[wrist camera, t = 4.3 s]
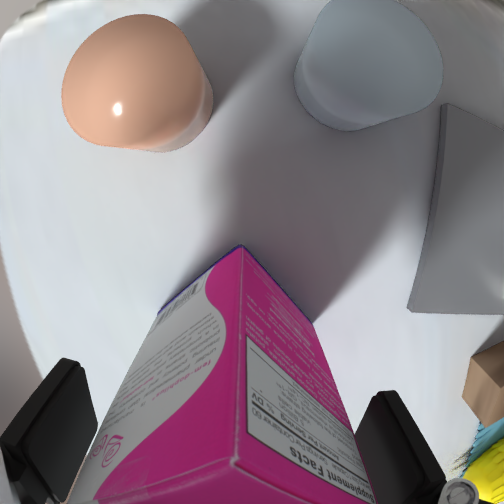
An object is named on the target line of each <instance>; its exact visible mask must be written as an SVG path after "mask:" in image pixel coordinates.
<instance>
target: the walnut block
mask: <svg viewBox="0 0 504 504" xmlns="http://www.w3.org/2000/svg"><path fill="white" fill-rule="evenodd" d="M462 398H463V399H464V400H465V402H466V403H467V404H468V406H469V407H470V408H471V410H472V411H473V412H474V414H475V415H476V416H477V418H478V419H479V420H480V422H481V423H482V424H483V426H484V427H485V428H487V427H488V426H490V425H492V424H493V423H495V422H497V421H498V420H500V419H502V418H503V417H504V341H502V342H500V343H498V344H496V345H494V346H493V347H491V348H489V349H487V350H485V351H482V352H480V353H478V354H476V355H474V356H472V357H471V359H470V364H469V368H468V373H467V378H466V382H465V386H464V390H463V394H462Z"/></svg>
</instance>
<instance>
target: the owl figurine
mask: <svg viewBox="0 0 504 504" xmlns="http://www.w3.org/2000/svg"><path fill="white" fill-rule="evenodd" d="M481 429H482V430H481ZM478 430H480V431H479V432H478V434H477V435H476V439H477V438H478V439H477V440H476V441H475V442H474V444H473V447H474V448H473V449H472V451H471V454H472V455H471V456H470V457H469V459H468V461H469V462H468V463H467V464H466V467H467V469H466V470H465V471H464V472H463V473H462V474H463V475H462V476H461V477H460V478H464V479H467V480H469V481H471V482H472V483H473V484H475V486H476V487H477V489H478V492H479V499H481V500H484V501H488V502H491V503H494V504H497V503H499V502H503V501H504V417H503V418H502V419H500V420H498V421H497V422H495V423H493V424H492V425H490V426H488V427H487V428H485V427H484V426H483V424H482V423H481V424H480V425H479V427H478Z"/></svg>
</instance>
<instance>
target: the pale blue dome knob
mask: <svg viewBox="0 0 504 504" xmlns="http://www.w3.org/2000/svg"><path fill="white" fill-rule="evenodd" d="M442 81H443V61H442V57H441V53H440V50H439V47H438V45H437V43H436V41H435V39H434V37H433V35H432V34H431V32H430V31H429V29H428V28H427V27H426V25H425V24H424V23H423V22H422V21H421V20H420V19H419V18H418V17H417V16H416V15H415V14H414V13H413V12H412V11H410V10H409V9H408V8H406V7H405V6H403V5H402V4H400V3H398V2H396V1H394V0H332V1H330V2H329V3H328V4H327V5H326V6H325V7H324V8H323V9H322V11H321V12H320V14H319V16H318V18H317V20H316V22H315V25H314V27H313V29H312V31H311V33H310V36H309V38H308V40H307V42H306V45H305V47H304V49H303V51H302V53H301V56H300V58H299V60H298V62H297V65H296V68H295V73H294V86H295V90H296V93H297V96H298V98H299V100H300V102H301V104H302V105H303V107H304V108H305V110H306V111H307V112H308V113H309V114H310V115H311V116H312V117H313V118H315V119H316V120H317V121H319V122H320V123H322V124H324V125H326V126H328V127H331V128H333V129H337V130H343V131H354V130H359V129H363V128H366V127H369V126H373V125H376V124H379V123H382V122H385V121H389V120H392V119H395V118H399V117H402V116H405V115H409V114H412V113H415V112H418V111H421V110H422V109H424V108H426V107H427V106H428V105H430V104H431V103H432V102H433V100H434V99H435V98H436V97H437V95H438V93H439V91H440V88H441V85H442Z"/></svg>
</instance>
